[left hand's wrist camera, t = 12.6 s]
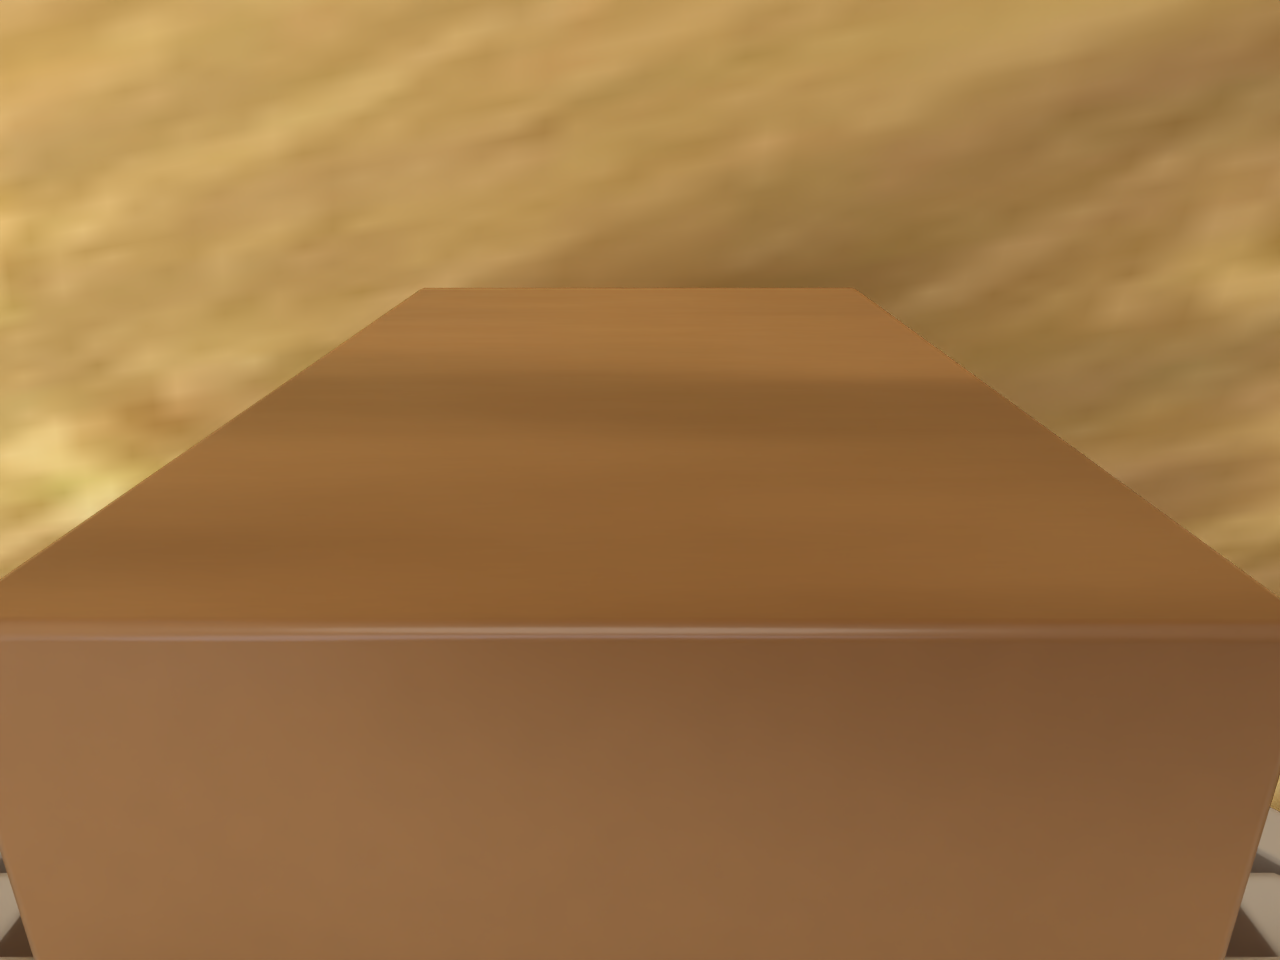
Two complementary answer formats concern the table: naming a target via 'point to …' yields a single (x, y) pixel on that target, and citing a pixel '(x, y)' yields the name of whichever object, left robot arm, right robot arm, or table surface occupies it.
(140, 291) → the table surface
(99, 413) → the table surface
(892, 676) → the box
